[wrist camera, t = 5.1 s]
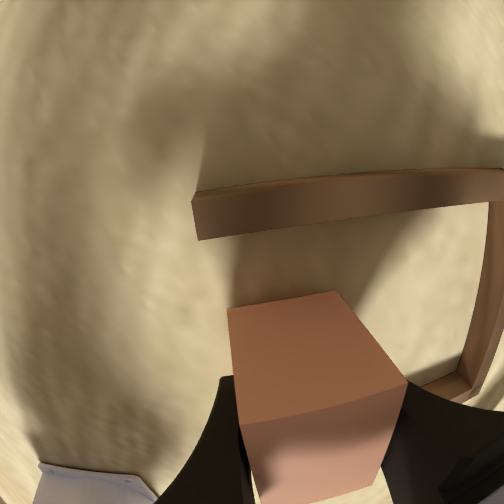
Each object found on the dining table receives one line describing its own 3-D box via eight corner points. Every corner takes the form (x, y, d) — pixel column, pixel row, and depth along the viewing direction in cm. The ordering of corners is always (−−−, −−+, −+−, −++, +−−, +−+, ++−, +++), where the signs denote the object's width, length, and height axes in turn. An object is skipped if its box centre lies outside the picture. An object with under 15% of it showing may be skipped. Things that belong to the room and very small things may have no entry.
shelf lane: (247, 445, 15) (251, 471, 14) (195, 192, 11) (190, 201, 9) (463, 377, 17) (478, 394, 15) (502, 168, 12) (528, 174, 10)
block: (247, 413, 13) (263, 512, 8) (226, 308, 11) (239, 424, 6) (332, 396, 14) (372, 484, 8) (335, 290, 12) (408, 382, 6)
